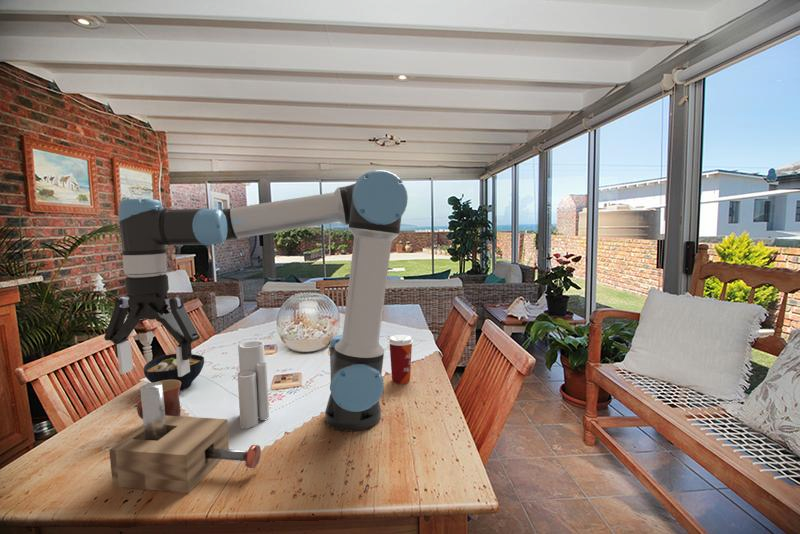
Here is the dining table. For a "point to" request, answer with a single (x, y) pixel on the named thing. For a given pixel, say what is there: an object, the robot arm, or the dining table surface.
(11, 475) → the dining table surface
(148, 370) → the bowl
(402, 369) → the coffee cup
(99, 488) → the dining table surface
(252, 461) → the lock pin
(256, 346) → the vase
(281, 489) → the dining table surface
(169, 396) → the mug
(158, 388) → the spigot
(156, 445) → the dock
